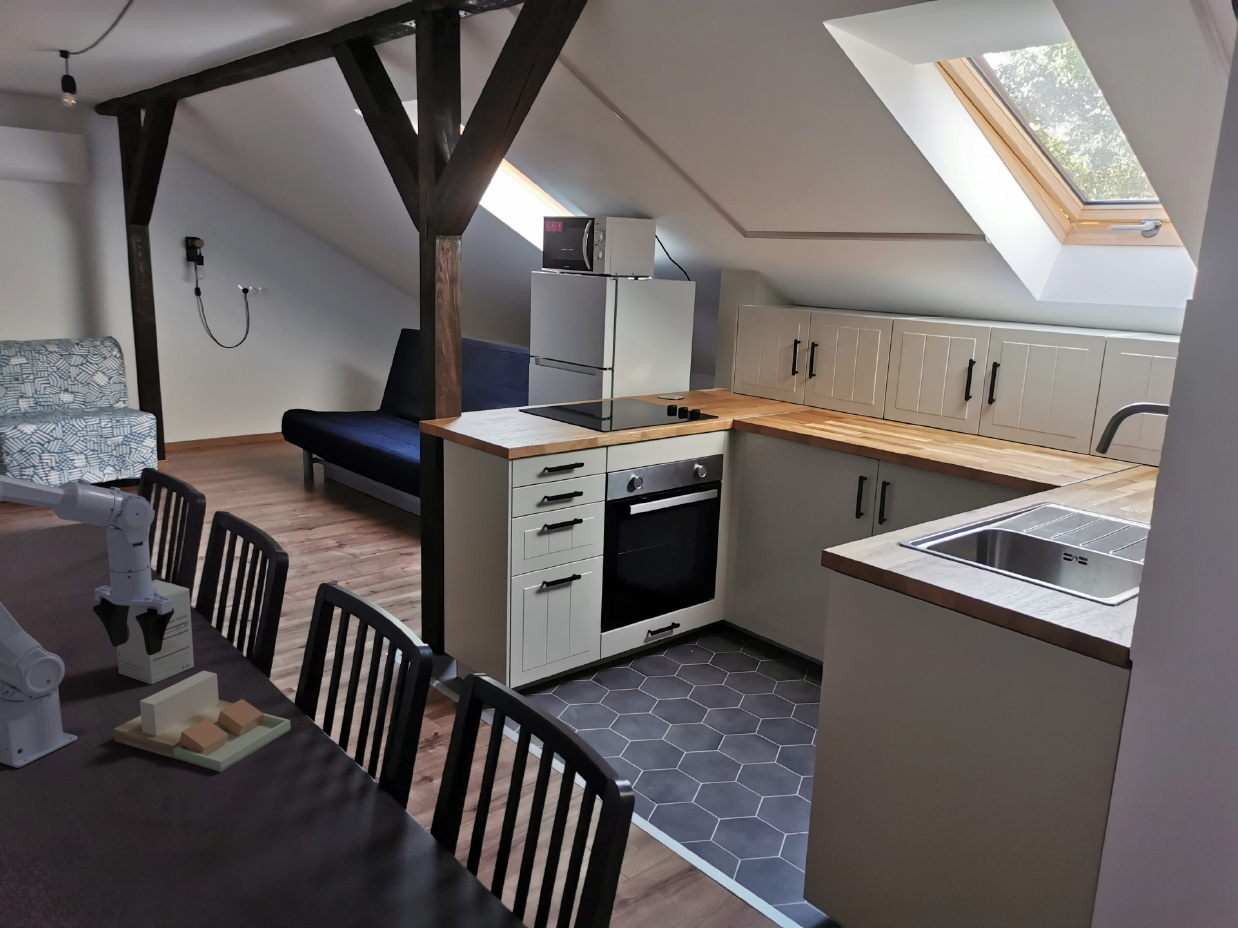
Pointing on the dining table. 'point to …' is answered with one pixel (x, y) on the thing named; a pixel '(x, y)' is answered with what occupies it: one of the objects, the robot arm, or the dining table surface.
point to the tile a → (203, 737)
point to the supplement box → (174, 646)
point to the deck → (167, 740)
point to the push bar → (179, 702)
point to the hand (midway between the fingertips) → (136, 648)
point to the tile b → (240, 717)
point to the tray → (236, 744)
